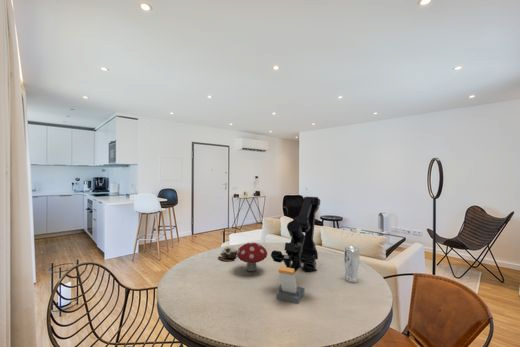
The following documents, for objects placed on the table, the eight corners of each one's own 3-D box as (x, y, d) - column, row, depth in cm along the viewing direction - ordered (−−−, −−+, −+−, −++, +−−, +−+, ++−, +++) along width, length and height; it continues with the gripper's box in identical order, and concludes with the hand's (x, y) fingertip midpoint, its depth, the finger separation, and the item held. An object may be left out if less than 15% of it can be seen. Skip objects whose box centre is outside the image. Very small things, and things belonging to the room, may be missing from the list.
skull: (214, 259, 139) (218, 243, 146) (219, 266, 146) (223, 250, 153) (233, 260, 136) (237, 243, 143) (238, 268, 143) (241, 251, 150)
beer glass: (360, 283, 112) (360, 251, 112) (344, 282, 113) (345, 250, 113) (357, 277, 119) (357, 247, 119) (342, 276, 120) (343, 246, 120)
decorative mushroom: (273, 271, 125) (273, 242, 125) (251, 281, 114) (252, 249, 114) (251, 263, 136) (251, 236, 136) (229, 271, 124) (230, 242, 124)
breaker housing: (284, 288, 107) (284, 279, 107) (304, 292, 103) (304, 283, 103) (276, 298, 98) (276, 288, 98) (298, 303, 94) (298, 293, 94)
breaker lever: (283, 288, 101) (280, 266, 97) (297, 291, 99) (294, 268, 94) (282, 292, 100) (278, 269, 95) (296, 295, 97) (292, 272, 93)
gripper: (272, 232, 106) (261, 265, 96) (314, 237, 98) (308, 274, 88) (278, 245, 113) (269, 277, 103) (318, 250, 106) (312, 286, 96)
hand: (288, 278), depth 98 cm, fingers closed, pressing on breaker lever
